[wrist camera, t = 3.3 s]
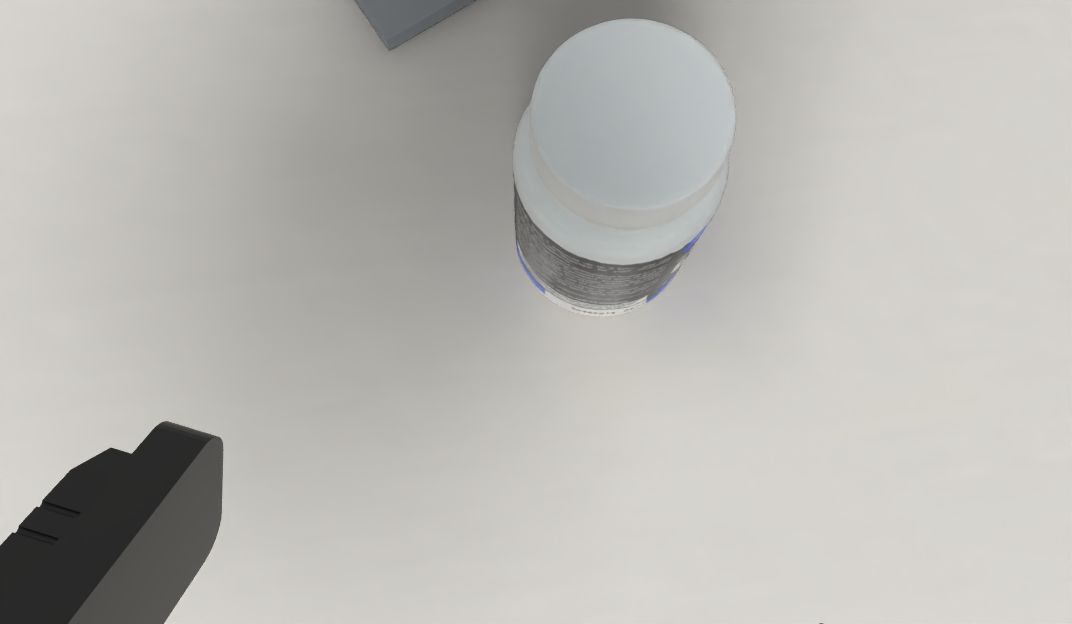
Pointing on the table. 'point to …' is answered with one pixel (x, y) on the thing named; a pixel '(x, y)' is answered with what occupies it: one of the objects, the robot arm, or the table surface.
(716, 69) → the pill bottle
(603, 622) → the table surface
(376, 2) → the rubber mat
